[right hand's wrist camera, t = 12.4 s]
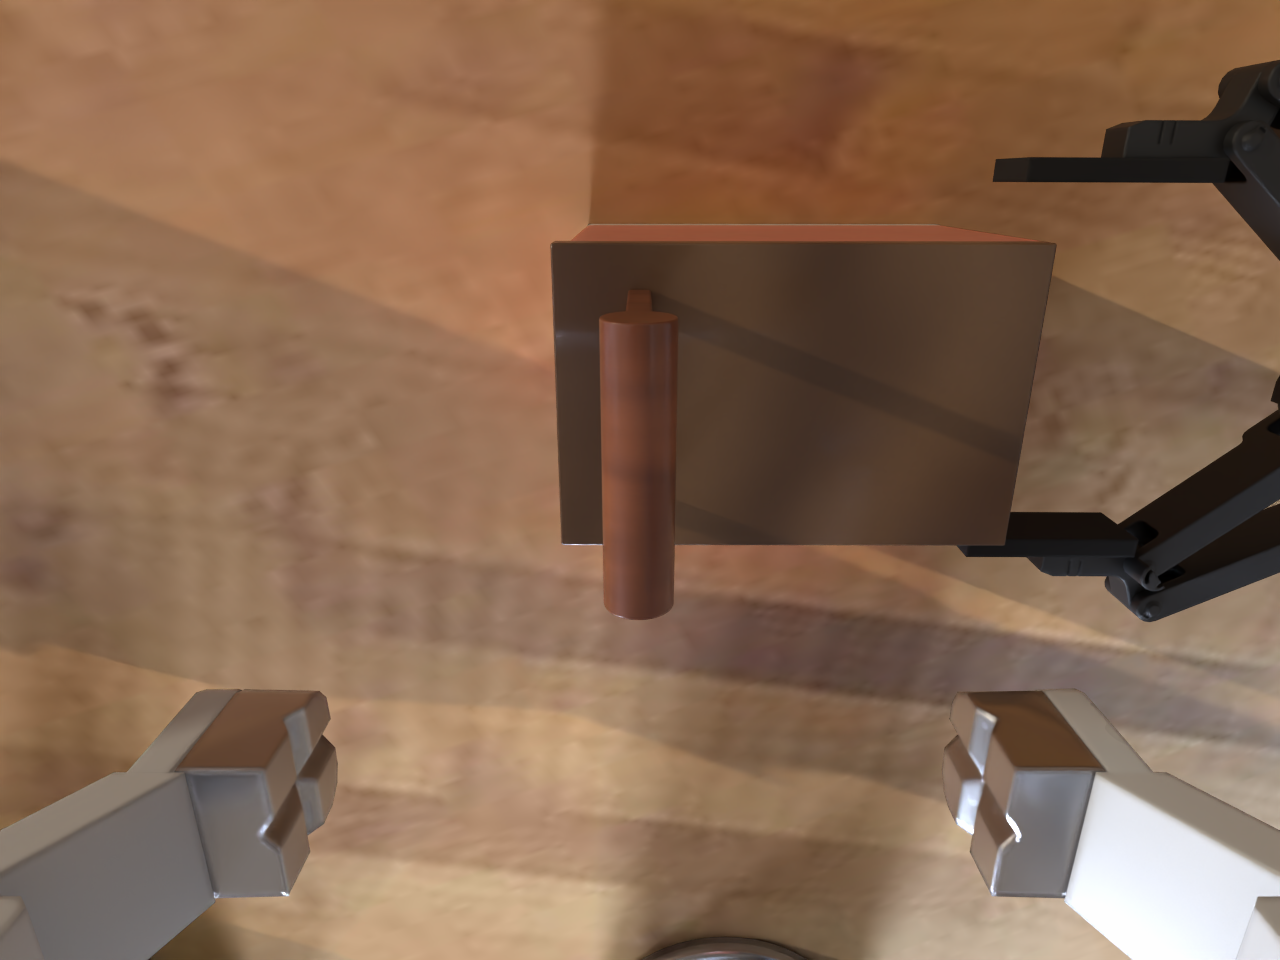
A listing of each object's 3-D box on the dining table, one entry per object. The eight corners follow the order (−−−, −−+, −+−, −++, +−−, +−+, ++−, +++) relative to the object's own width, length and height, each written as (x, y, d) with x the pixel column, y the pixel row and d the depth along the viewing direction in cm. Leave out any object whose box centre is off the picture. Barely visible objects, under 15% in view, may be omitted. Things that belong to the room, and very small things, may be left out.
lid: (563, 534, 28) (535, 661, 21) (553, 240, 25) (515, 267, 17) (993, 534, 28) (1120, 662, 21) (1043, 241, 25) (1215, 267, 17)
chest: (593, 447, 38) (577, 533, 28) (588, 223, 34) (569, 240, 25) (907, 447, 38) (993, 534, 28) (934, 224, 34) (1042, 240, 25)
